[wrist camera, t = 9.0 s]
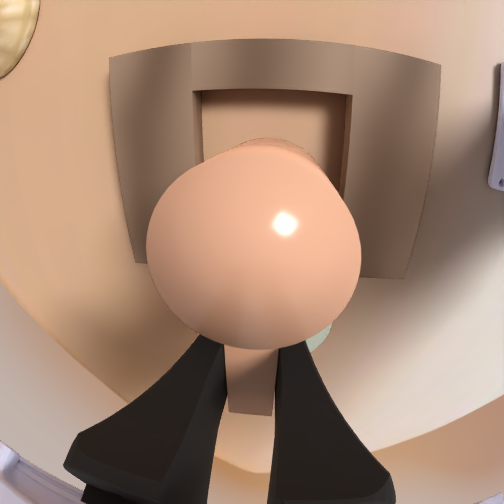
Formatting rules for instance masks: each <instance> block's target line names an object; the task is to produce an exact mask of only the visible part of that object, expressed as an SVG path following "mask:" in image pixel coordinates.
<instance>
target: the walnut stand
mask: <svg viewBox="0 0 504 504" xmlns="http://www.w3.org/2000/svg"><path fill="white" fill-rule="evenodd" d="M109 74H110V94H111V109H112V121H113V131H114V141H115V149H116V157H117V165H118V172H119V179H120V185H121V192H122V198H123V204H124V209H125V215H126V220H127V225H128V230H129V235H130V240H131V245H132V249H133V254H134V258H135V262H136V263H148V262H147V253H146V240H147V231H148V226H149V222H150V219H151V216H152V214H153V211H154V209H155V207H156V205H157V203H158V201H159V200H160V198H161V197H162V195H163V194H164V193H165V191H166V190H167V189H168V187H169V186H170V185H171V184H172V183H173V182H174V181H175V180H176V179H177V178H178V177H180V176H181V175H183V174H184V173H185V172H187V171H188V170H190V169H191V168H193V167H195V166H197V165H199V164H201V163H203V162H204V158H203V137H202V110H201V90H212V89H250V88H254V89H292V90H308V91H321V92H332V93H341V94H347V96H346V115H345V130H344V143H343V155H342V166H341V176H340V185H339V195H340V197H341V198H342V200H343V201H344V203H345V204H346V206H347V208H348V210H349V212H350V213H351V215H352V217H353V219H354V222H355V225H356V228H357V231H358V234H359V240H360V245H361V267H360V274H359V277H368V278H390V279H404V276H405V273H406V270H407V266H408V263H409V260H410V256H411V253H412V249H413V246H414V242H415V238H416V234H417V230H418V227H419V222H420V218H421V214H422V210H423V205H424V201H425V196H426V191H427V186H428V181H429V176H430V170H431V164H432V158H433V151H434V144H435V137H436V129H437V120H438V110H439V98H440V81H441V65H439V64H436V63H433V62H429V61H426V60H422V59H418V58H414V57H410V56H406V55H402V54H398V53H393V52H389V51H384V50H379V49H373V48H367V47H361V46H355V45H348V44H340V43H332V42H322V41H310V40H294V39H232V40H215V41H204V42H194V43H185V44H178V45H171V46H164V47H158V48H152V49H147V50H142V51H137V52H132V53H127V54H123V55H119V56H114V57H110V58H109Z"/></svg>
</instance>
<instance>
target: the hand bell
mask: <svg viewBox="0 0 504 504" xmlns="http://www.w3.org/2000/svg"><path fill="white" fill-rule="evenodd" d="M39 5H40V0H0V77H3V76H4V75H6V74H7V73H8V72H9V71H11V70H12V69H13V68H14V67H15V65H16V64H17V63H18V61H19V60H20V58H21V57H22V55H23V54H24V52H25V50H26V48H27V46H28V44H29V42H30V40H31V37H32V35H33V33H34V30H35V26H36V22H37V17H38V11H39Z"/></svg>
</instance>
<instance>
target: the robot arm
mask: <svg viewBox="0 0 504 504" xmlns="http://www.w3.org/2000/svg"><path fill="white" fill-rule="evenodd" d="M500 180H501V183H500V184H499V181H500ZM488 184H489V186H490V187H492V188H493V189H496V190H500V191H504V62H503V63H502V64H501V80H500V99H499V111H498V121H497V129H496V137H495V144H494V150H493V156H492V161H491V167H490V172H489V176H488ZM226 398H227V380H226V365H225V349H224V344H221V343H218V342H216V341H213V340H211V339H209V338H207V337H205V336H202V335H201V334H200V335H199V336H198V337H197V339H196V340H195V341H194V342H193V344H192V345H191V346H190V347H189V349H188V350H187V351H186V352H185V353H184V354H183V355H182V357H181V358H180V359H179V360H178V361H177V362H176V363H175V364H174V365H173V366H172V367H171V369H170V370H169V371H168V372H167V373H166V374H164V375H163V376H162V377H161V378H160V379H159V380H158V381H157V382H156V383H155V384H154V385H152V386H151V387H150V388H149V389H148V390H146V391H145V392H144V393H143V394H142V395H140V396H139V397H138V398H137V399H135V400H134V401H133V402H131V403H130V404H128V405H127V406H125V407H124V408H122V409H121V410H119V411H118V412H116V413H115V414H113V415H112V416H110V417H108V418H107V419H105V420H103V421H102V422H100V423H98V424H96V425H94V426H92V427H90V428H88V429H86V430H84V431H82V432H80V433H78V435H77V437H76V438H75V440H74V441H73V443H72V445H71V448H70V450H69V452H68V454H67V457H66V460H65V462H64V464H63V466H64V468H65V469H66V470H67V471H68V472H70V473H71V474H72V475H74V476H75V477H77V478H78V479H80V480H81V481H83V482H84V483H86V487H85V489H84V491H82V490H80V489H78V488H76V487H74V486H72V485H70V484H68V483H66V482H64V481H62V480H60V479H58V478H56V477H55V476H53V475H51V474H49V473H47V472H46V471H44V470H42V469H40V468H39V467H37V466H35V465H34V464H32V463H31V462H29V461H27V460H26V459H24V458H23V457H21V456H20V455H19V454H18V453H17V452H16V451H14V450H13V449H12V448H10V447H9V446H8V445H6V444H5V443H3V442H2V441H1V440H0V504H207V497H208V489H209V483H210V475H211V469H212V463H213V456H214V450H215V444H216V438H217V433H218V428H219V423H220V419H221V416H222V412H223V409H224V405H225V402H226ZM395 503H396V495H395V490H394V485H393V481H392V479H391V475H390V473H389V472H388V471H387V470H386V469H385V468H384V467H383V466H382V465H381V464H380V463H379V462H378V461H377V459H375V457H374V456H373V455H372V454H371V453H370V452H369V450H368V449H367V448H366V447H365V446H364V444H363V443H362V442H361V441H360V440H359V438H358V437H357V435H356V434H355V433H354V431H353V430H352V429H351V427H350V426H349V424H348V423H347V422H346V420H345V419H344V417H343V416H342V414H341V413H340V411H339V410H338V408H337V406H336V405H335V403H334V401H333V400H332V398H331V396H330V394H329V393H328V391H327V389H326V387H325V385H324V383H323V381H322V379H321V377H320V375H319V373H318V371H317V368H316V366H315V364H314V361H313V359H312V356H311V354H310V351H309V349H308V346H307V343H306V340H304V341H302V342H299V343H297V344H294V345H290V346H287V347H282V348H279V350H278V361H277V371H276V381H275V438H274V447H273V457H272V466H271V475H270V483H269V491H268V500H267V504H395ZM475 504H504V499H503V493H501V492H500V493H498V494H496V495H494V496H491V497H489V498H487V499H484V500H482V501H480V502H477V503H475Z"/></svg>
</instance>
